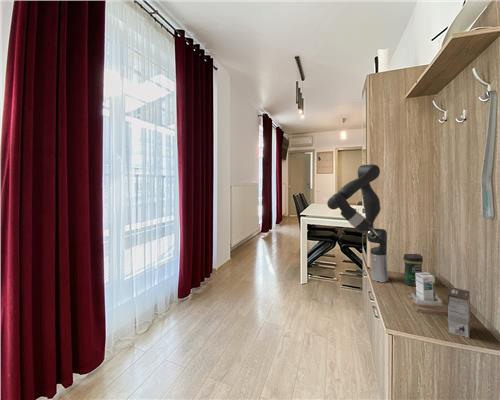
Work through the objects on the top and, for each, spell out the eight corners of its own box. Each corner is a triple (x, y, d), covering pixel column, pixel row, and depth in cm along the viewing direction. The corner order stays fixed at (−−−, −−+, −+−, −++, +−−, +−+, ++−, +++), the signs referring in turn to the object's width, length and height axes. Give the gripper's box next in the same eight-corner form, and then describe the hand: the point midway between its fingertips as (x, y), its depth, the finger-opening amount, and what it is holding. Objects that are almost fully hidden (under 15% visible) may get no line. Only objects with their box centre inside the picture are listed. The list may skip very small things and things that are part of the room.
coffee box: (450, 322, 103) (449, 286, 102) (470, 328, 98) (470, 290, 97) (448, 332, 96) (447, 294, 95) (469, 339, 92) (468, 298, 91)
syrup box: (423, 305, 115) (422, 276, 114) (416, 299, 121) (415, 272, 120) (435, 305, 115) (435, 276, 114) (427, 299, 120) (426, 271, 120)
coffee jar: (407, 286, 140) (406, 256, 139) (401, 281, 147) (400, 252, 146) (426, 287, 138) (425, 255, 137) (419, 281, 145) (418, 252, 145)
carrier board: (406, 293, 131) (406, 290, 131) (436, 296, 126) (436, 293, 126) (416, 311, 113) (416, 308, 113) (453, 315, 107) (452, 312, 107)
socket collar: (411, 296, 124) (411, 291, 124) (434, 298, 121) (434, 293, 120) (417, 305, 115) (417, 299, 115) (442, 308, 111) (442, 302, 111)
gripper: (365, 218, 121) (391, 241, 117) (363, 215, 134) (386, 235, 130) (354, 229, 123) (379, 251, 119) (353, 224, 136) (376, 244, 133)
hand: (383, 243), depth 125 cm, fingers open, 8 cm apart
